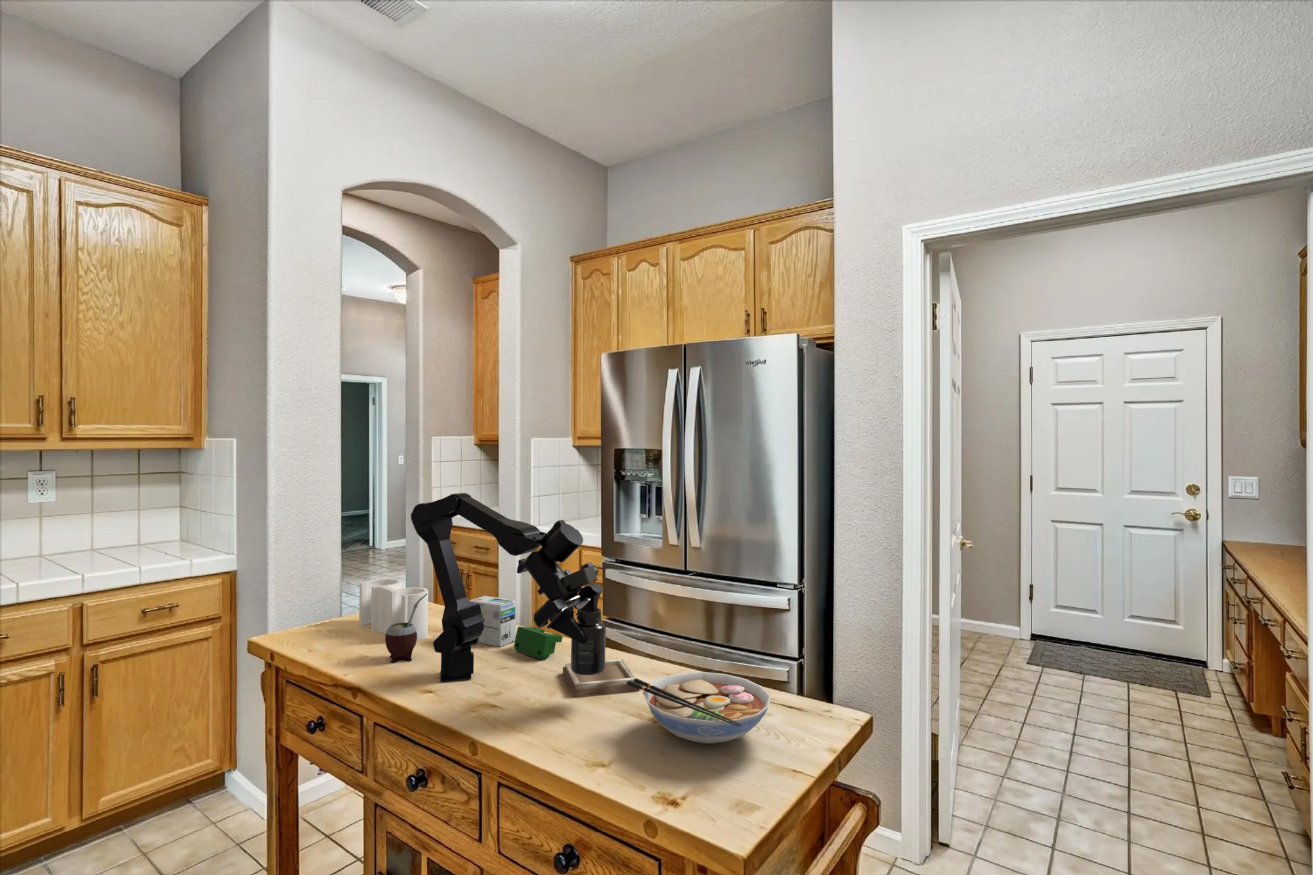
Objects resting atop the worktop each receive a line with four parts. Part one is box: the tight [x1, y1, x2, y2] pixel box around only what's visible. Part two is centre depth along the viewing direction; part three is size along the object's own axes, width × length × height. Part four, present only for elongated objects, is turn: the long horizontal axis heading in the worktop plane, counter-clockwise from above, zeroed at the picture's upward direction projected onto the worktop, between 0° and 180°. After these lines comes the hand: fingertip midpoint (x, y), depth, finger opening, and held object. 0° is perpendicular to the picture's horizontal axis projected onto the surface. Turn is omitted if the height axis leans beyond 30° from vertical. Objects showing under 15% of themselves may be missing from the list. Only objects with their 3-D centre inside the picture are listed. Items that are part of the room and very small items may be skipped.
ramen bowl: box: [627, 671, 771, 745], centre depth 117 cm, size 25×23×8 cm
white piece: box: [358, 578, 429, 642], centre depth 177 cm, size 25×10×12 cm, turn 49°
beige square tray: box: [562, 658, 641, 698], centre depth 142 cm, size 14×14×2 cm
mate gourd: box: [384, 594, 427, 664], centre depth 155 cm, size 8×8×15 cm
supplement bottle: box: [570, 607, 607, 675], centre depth 130 cm, size 7×7×12 cm
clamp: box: [513, 626, 564, 660], centre depth 161 cm, size 12×6×9 cm, turn 43°
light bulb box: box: [468, 595, 517, 647], centre depth 169 cm, size 11×7×11 cm, turn 65°
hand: (594, 637), depth 130 cm, fingers closed on supplement bottle, 7 cm apart
